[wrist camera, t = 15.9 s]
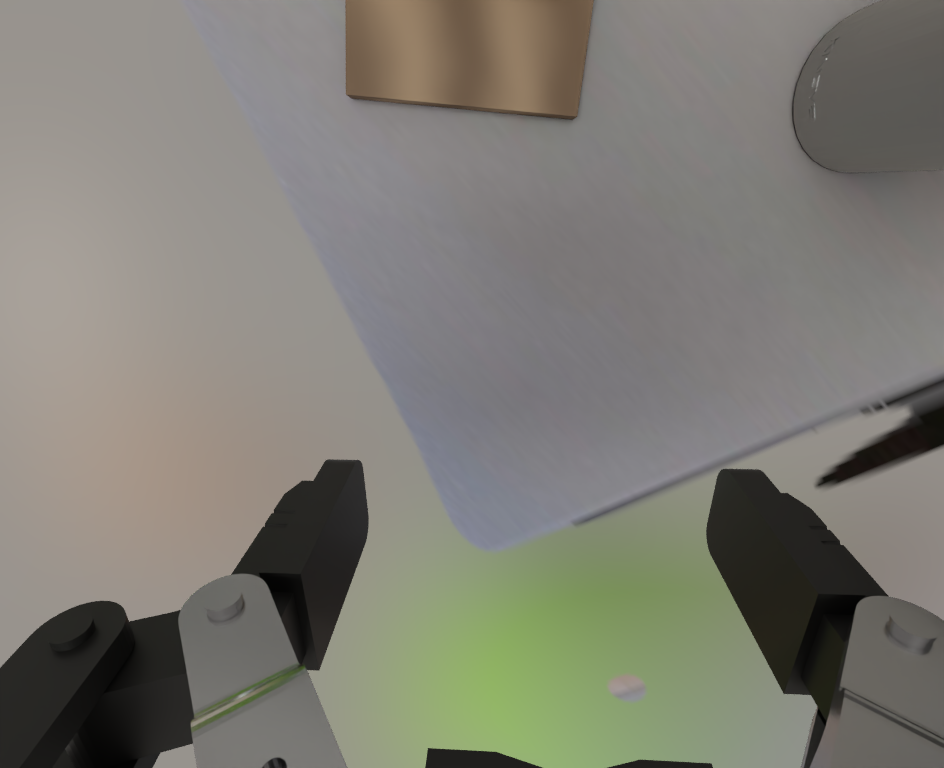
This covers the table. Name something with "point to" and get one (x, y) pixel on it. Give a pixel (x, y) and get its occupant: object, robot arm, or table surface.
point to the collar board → (469, 54)
